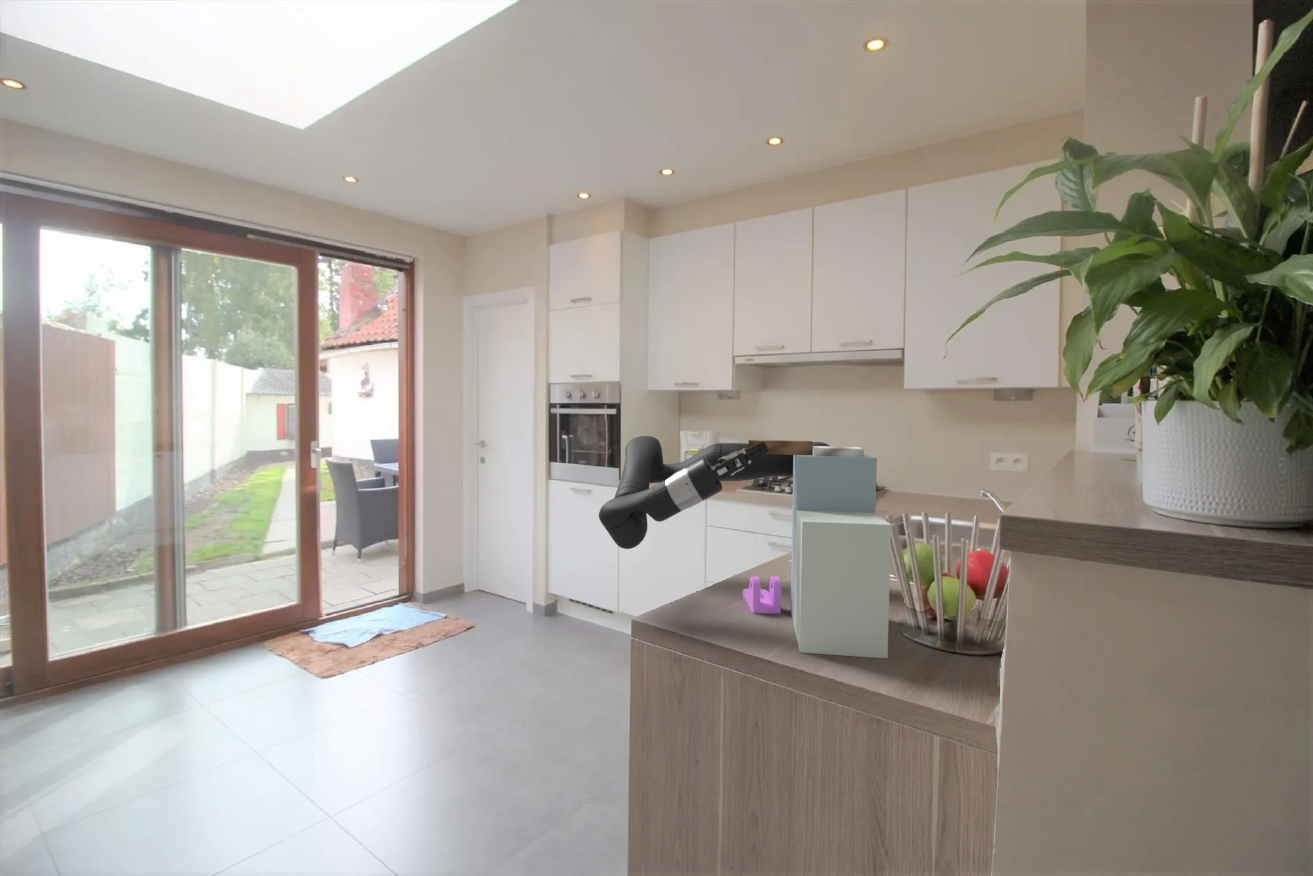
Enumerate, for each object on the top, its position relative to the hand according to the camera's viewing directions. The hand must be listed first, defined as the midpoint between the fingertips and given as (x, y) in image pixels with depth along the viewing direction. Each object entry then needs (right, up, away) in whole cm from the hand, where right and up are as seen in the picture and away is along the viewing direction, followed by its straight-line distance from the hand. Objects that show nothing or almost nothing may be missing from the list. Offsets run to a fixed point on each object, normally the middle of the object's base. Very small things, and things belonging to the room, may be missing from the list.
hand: (766, 444), depth 115 cm
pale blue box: (+11, -34, -6) cm, 37 cm away
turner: (+7, -2, -1) cm, 7 cm away
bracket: (0, -34, +10) cm, 35 cm away
